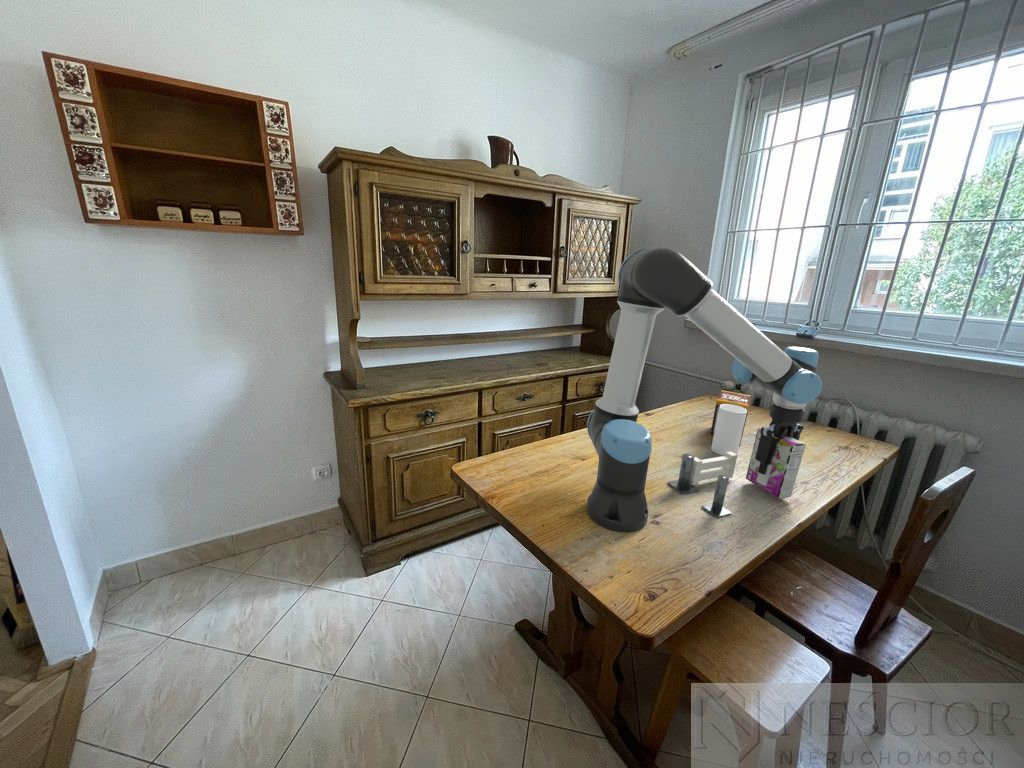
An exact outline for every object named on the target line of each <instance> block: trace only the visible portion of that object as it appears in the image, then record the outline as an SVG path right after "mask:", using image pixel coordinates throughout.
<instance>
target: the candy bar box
mask: <svg viewBox="0 0 1024 768" xmlns="http://www.w3.org/2000/svg"><path fill="white" fill-rule="evenodd" d="M761 428H762V427H761ZM761 428H760V427H759V428H757V431H756V435H755V439H754V442H753V448H752V452H751V456H750V458H749V464H748V467H747V468H748V469H747V471H746V476H745V479H746V480H747V481H749V482H751V483H752V484H754V485H755V486H756V487H758V488H760V489H762V490H764V491H765V492H767V493H768V494H770V495H772V496H773V497H775V498H776V499H777V500H778V499H786V498H791V497H792V495H793V490H794V487H795V485H796V479H797V476H798V474H799V470H800V469H799V468H800V466H801V462H802V460H803V455H804V452H805V449H806V446H807V443H805V442H804V441H801V440H800V439H799V440H796V439H794V438H792V437H791V438H790V437H784V438H783V439H780V441H779V442H778V443H777V446H776V449H775V453H774V456H773V458H772V460H771V462H770V464H771V465H772V467H771V471H770V475H769V479H768V483H767V486H764V485H762V484H760V483H759V482H757V481H756V480H757V476H758V470H759V466H760V462H759V461H757V460H755V457H756V453H757V449H758V445H759V441H760V437H761ZM772 437H774V438H776V439H778V438H777V437H775V436H772Z"/></svg>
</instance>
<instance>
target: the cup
mask: <svg viewBox="0 0 1024 768" xmlns="http://www.w3.org/2000/svg"><path fill="white" fill-rule="evenodd" d="M746 413H747V410H746V409H745V408H743V407H740V406H736V405H731V404H722V405H720V407H719V412H718V417H717V422H716V427H715V432H714V437H713V440H712V441H711V442H712V443H711V448H710V449H711V451H712V452H714V453H715V454H718V455H720V456H725V453H726V452H730V451H731V452H733V453H735V454H737V455H738V453H739V448H740V446H741V445H740V440H741V436H742V431H743V427H744V422H745V418H746ZM746 419H747V418H746ZM744 428H745V427H744ZM743 432H744V431H743ZM742 437H743V436H742ZM741 441H742V440H741ZM739 445H740V446H739Z"/></svg>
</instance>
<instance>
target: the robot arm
mask: <svg viewBox="0 0 1024 768" xmlns="http://www.w3.org/2000/svg"><path fill="white" fill-rule="evenodd" d="M618 269H619V270H618V274H617V276H618V285H619V290H618V297H617V301H616V303H617V304H618V305H619V307H620V309H621V310H620V314H619V320H618V323H617V327H616V332H615V333H616V334H615V338H614V341H613V342H614V343H613V347H612V348H613V349H612V352H611V355H610V361H609V366H608V370H607V375H606V379H605V385H604V388H603V393H602V397H600V398H598V399H597V400H596V401H595V404H594V409H593V410H592V411H591V412H590V413H589V416H588V418H587V423H586V425H587V426H586V427H587V430H586V431H587V434H588V436H589V438H590V440H591V442H592V444H593V447H594V449H595V452H596V454H597V456H598V463H597V464H598V466H597V472H596V473H597V474H596V481H595V484H594V486H593V488H592V491H591V493H590V494H589V496H587V497H588V498H587V501H586V513H587V515H588V517H589V518H590V519H591V520H592V521H593V522H594V523H596V524H597V525H599V526H601V527H603V528H605V529H608V530H611V531H615V532H620V533H621V532H624V533H628V532H629V533H630V532H631V533H632V532H636V531H639V530H641V529H643V528H644V527H646V525H647V523H648V519H649V507H648V503H647V502H648V501H647V497H646V493H645V488H646V483H647V477H648V476H647V475H648V470H649V465H650V463H649V462H650V458H651V453H652V448H653V446H652V441H653V440H652V435H651V433H650V431H649V430H648V429H647V428H646V426H644V425H642V424H638V418H639V414H640V410H639V408H638V407H637V405H636V400H637V397H638V392H639V388H640V384H641V380H642V376H643V371H644V368H645V363H646V359H647V355H648V350H649V347H650V342H651V338H652V334H653V329H654V326H655V322H656V317H657V315H658V314H659V313H661V312H663V311H664V310H665V308H666V309H668V310H670V311H671V312H673V314H675V315H676V316H677V317H686V318H687V319H688V320H689V321H690V322H691V323H693V324H694V325H695V326H697V327H698V328H699V329H700V330H701V331H703V333H705V334H706V335H707V336H708V337H709V338H711V339H712V340H713V341H715V343H717V344H718V345H719V346H720V347H721V348H722V349H724V350H725V351H726V352H727V353H728V354H730V355H731V356H732V357H734V360H733V362H732V368H731V372H732V377H733V378H734V380H735V381H737V382H739V383H745V384H755V385H757V386H760V387H762V388H764V389H765V390H767V391H770V392H771V393H772V392H773V396H772V402H771V404H770V409H769V412H768V415H769V417H770V418H771V421H770V423H769V425H768V426H767V427H764V426H763V427H761V437H760V441H759V445H758V449H757V453H756V457H755V460H757V461H759V462H760V466H759V470H758V476H757V480H756V481H757V482H759V483H760V484H762V485H764V486H767V483H768V479H769V475H770V471H771V467H772V465H771V464H770V462H771V460H772V458H773V456H774V453H775V449H776V446H777V443H778V442H779V441H780V439H783V438H784V437H790V438H791V437H792V438H794V439H796V440H799V441H800V436H801V434H802V431H803V429H804V425H801V424H800V423H802V421H803V418H804V415H805V411H806V410H805V407H806V406H807V404H808V403H812V402H813V401H814V400H815V399H816V398H818V396H820V394H821V392H822V389H823V381H822V379H821V377H820V376H819V375H818V374H816V371H817V369H818V363H819V352H818V350H815V349H814V348H813V349H812V348H808V347H803V346H802V347H801V346H787V347H786V348H785V349H784V351H783V349H781V348H780V347H779V346H778V345H777V344H775V343H774V342H773V341H772V340H771V339H769V337H767V336H766V335H765V334H764V333H763V332H762V331H760V330H759V329H758V328H757V327H756V326H755V325H753V324H752V323H751V321H749V320H748V318H746V317H745V316H743V314H741V313H740V312H739V311H738V309H736V308H735V307H733V306H732V305H731V304H730V303H729V302H728V301H727V300H726V299H724V298H723V297H722V296H721V295H720V294H718V293H717V292H716V291H715V290H714V289H713V282H712V280H711V279H710V278H708V276H706V275H705V274H704V273H703V272H702V271H701V270H700V269H699V268H698V267H697V266H696V265H694V264H693V263H692V262H691V261H690V260H689V259H688V258H686V256H684V255H683V254H681V253H680V252H678V251H677V250H674V249H673V248H669V247H656V248H655V247H652V248H641V249H639V250H637V251H634V252H632V253H631V254H629V255H628V256H627V257H626V258H625V259H624V260H623V261H622V263H621V265H620V267H619V268H618ZM772 436H775V437H777V438H778V439H776V438H774V437H772Z"/></svg>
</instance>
